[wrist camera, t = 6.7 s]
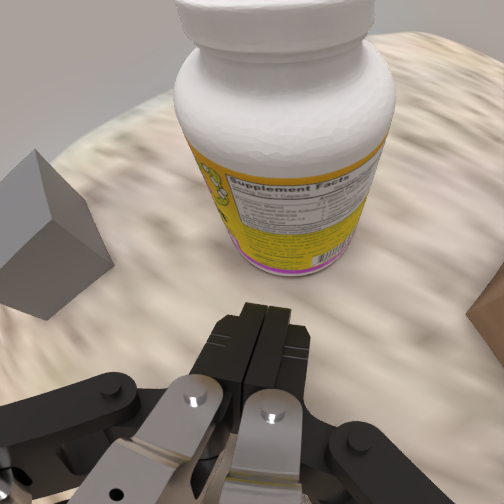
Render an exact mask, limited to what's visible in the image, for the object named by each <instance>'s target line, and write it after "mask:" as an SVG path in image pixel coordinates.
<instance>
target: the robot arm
mask: <svg viewBox="0 0 504 504" xmlns="http://www.w3.org/2000/svg"><path fill="white" fill-rule="evenodd" d="M290 317H291V309H289V308H281V307H274V306H269V308H268V306H267V305H260V304H254V303H247V302H246V303H245V305H244V307H243V309H242V311H241V314H240V316H234V315H226V316H225V317H224V318H222V319H221V320H219V321H218V322H217V323H216V325H215V327H214V329H213V330H212V332H211V335H210V336H209V338H208V340H207V343H205V345H204V347H203V349H202V351H201V353H200V355H199V357H198V358H197V360H196V362H195V364H194V366H193V368H192V370H191V371H190V373H189V375H185V376H182V377H180V378H178V379H176V380H175V381H174V382H172V384H171V385H170V386H169V387H168V388H165V389H141V388H137V386H136V384H135V382H134V380H133V379H132V378H131V377H130V376H128V375H126V374H123V373H119V372H108V373H104V374H101V375H98V376H95V377H92V378H89V379H86V380H83V381H80V382H77V383H74V384H71V385H68V386H65V387H62V388H59V389H56V390H53V391H50V392H47V393H43V394H40V395H37V396H34V397H30V398H27V399H24V400H20V401H17V402H14V403H10V404H7V405H3V406H0V504H32V500H34V499H38V498H42V497H46V496H49V495H53V494H56V493H60V492H63V491H66V490H70V489H73V488H76V487H79V486H80V487H79V488H78V489H77V491H76V492H75V493H74V495H73V496H72V497H71V499H68V500H64V501H61V502H58V503H55V504H201V502H202V500H203V498H204V496H205V494H206V492H207V489H208V487H209V485H210V483H211V481H212V479H213V477H214V475H215V473H216V470H217V468H218V466H219V464H220V462H221V460H222V457H223V455H224V452H225V446H226V444H227V441H228V438H229V435H230V433H235V434H238V437H237V441H236V446H235V450H234V455H233V459H232V464H231V468H230V471H229V474H227V476H226V478H225V481H224V485H223V489H222V493H221V497H220V501H219V504H301V501H302V493H304V494H306V495H308V498H309V499H310V501H311V502H312V504H455V503H454V502H453V501H452V500H451V499H449V498H448V497H447V496H446V495H445V494H444V493H443V492H442V491H441V490H440V489H439V488H438V487H437V486H436V485H435V484H434V483H433V482H432V481H431V480H430V479H429V478H428V477H427V476H426V475H425V474H424V473H423V472H421V471H420V470H419V469H418V468H417V467H416V466H415V465H414V464H413V463H412V462H411V461H410V460H409V459H408V458H407V457H406V456H405V455H404V454H403V453H402V452H401V451H400V450H399V449H398V448H397V447H396V446H395V445H394V444H393V443H392V442H391V441H390V440H389V439H388V438H387V437H386V436H385V435H384V434H383V433H382V432H381V431H380V430H379V429H378V428H377V427H375V426H373V425H371V424H369V423H366V422H360V421H353V422H347V423H344V424H342V425H340V426H339V427H335V426H332V425H330V424H327V423H325V422H322V421H320V420H318V419H317V418H315V417H314V416H313V415H311V414H310V412H309V411H308V410H307V408H306V407H305V404H304V400H303V395H304V387H305V380H306V372H307V364H308V355H309V346H310V335H309V333H308V331H307V329H306V327H305V326H300V325H292V324H290Z"/></svg>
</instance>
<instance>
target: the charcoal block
mask: <svg viewBox="0 0 504 504" xmlns="http://www.w3.org/2000/svg"><path fill="white" fill-rule="evenodd" d="M113 266H114V264H113V262H112V260H111V257H110V255H109V253H108V251H107V249H106V247H105V245H104V243H103V240H102V238H101V236H100V234H99V232H98V229H97V227H96V225H95V223H94V220H93V218H92V216H91V213H90V211H89V209H88V206H87V204H86V201H85V200H84V199H83V198H82V197H81V196H80V195H79V194H78V193H77V192H76V191H75V190H74V189H73V188H72V187H71V186H70V185H69V184H68V183H67V182H66V181H65V180H64V179H63V178H62V177H61V176H60V175H59V174H58V173H57V172H56V170H55V169H54V168H53V167H52V166H51V165H50V164H49V163H48V162H47V161H46V160H45V159H44V158H43V157H42V156H41V155H40V154H39V153H38V152H37V151H36V150H35V149H34V151H32V152H31V153H30V154H29V155H28V156H27V157H26V158H24V160H22V161H21V162H20V163H19V164H18V165H17V166H16V167H15V168H14V169H13V170H12V171H11V172H10V173H9V174H8V175H7V176H6V177H5V178H4V179H3V180H2V181H1V182H0V303H1V304H3V305H6V306H8V307H11V308H13V309H16V310H19V311H21V312H24V313H27V314H30V315H32V316H35V317H38V318H41V319H44V320H48V319H50V318H51V317H52V316H53V315H54V314H55V313H57V312H58V311H59V310H60V309H61V308H63V307H64V306H65V305H66V304H67V303H69V302H70V301H71V300H72V299H73V298H75V297H76V296H77V295H78V294H79V293H81V292H82V291H83V290H84V289H86V288H87V287H88V286H89V285H91V284H92V283H93V282H94V281H96V280H97V279H98V278H99V277H101V276H102V275H103V274H104V273H106V272H107V271H108V270H109V269H111V268H112V267H113Z"/></svg>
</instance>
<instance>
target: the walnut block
mask: <svg viewBox="0 0 504 504" xmlns="http://www.w3.org/2000/svg"><path fill="white" fill-rule="evenodd" d="M466 315H467V317H468V318H469V319H470V321H471V322H472V323H473V325H474V326H475V327H476V329H477V330H478V331H479V333H480V334H481V336H482V337H483V338H484V340H485V341H486V343H487V344H488V345H489V347H490V348H491V350H492V351H493V353H494V354H495V356H496V357H497V358H498V360H499V361H500V363H501V364H502V366H503V367H504V263H503V265H502V266H501V267H500V269H499V270H498V272H497V273H496V275H495V276H494V277H493V279H492V280H491V282H490V283H489V284H488V286H487V287H486V288H485V290H484V291H483V292H482V294H481V295H480V296H479V298H478V299H477V300H476V301H475V303H474V304H473V305H472V307H471V308H470V309H469V310H468V312H467V313H466Z"/></svg>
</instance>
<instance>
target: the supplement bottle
mask: <svg viewBox="0 0 504 504" xmlns="http://www.w3.org/2000/svg"><path fill="white" fill-rule="evenodd" d="M175 3H176V6H177V10H178V13H179V16H180V19H181V23H182V28H183V31H184V33H185V34H186V35H187V37H188V38H189V39H191V40H192V41H193V42H194V44H195V45H196V46H197V48H195V49H194V50H193V52H192V53H191V54H190V55H189V56H188V58H187V59H186V60H185V62H184V64H183V65H182V67H181V69H180V71H179V73H178V76H177V79H176V82H175V88H174V107H175V112H176V115H177V119H178V121H179V123H180V126H181V128H182V131H183V133H184V136H185V138H186V140H187V142H188V144H189V146H190V149H191V151H192V153H193V155H194V157H195V160H196V162H197V164H198V166H199V169H200V171H201V173H202V175H203V177H204V179H205V182H206V184H207V186H208V189H209V191H210V193H211V195H212V198H213V200H214V202H215V204H216V206H217V209H218V211H219V213H220V215H221V218H222V220H223V222H224V224H225V226H226V228H227V230H228V233H229V235H230V237H231V239H232V241H233V242H234V244H235V246H236V248H237V249H238V250H239V252H240V253H241V254H242V255H243V256H244V257H245V258H246V259H247V260H248V261H249V262H250V263H252V264H253V265H254V266H256V267H258V268H260V269H262V270H264V271H266V272H269V273H272V274H275V275H280V276H301V275H307V274H311V273H314V272H317V271H320V270H322V269H324V268H326V267H327V266H329V265H330V264H332V263H333V262H334V261H335V260H337V259H338V258H339V257H340V256H341V254H342V253H343V252H344V251H345V249H346V248H347V246H348V245H349V243H350V241H351V239H352V237H353V234H354V232H355V229H356V227H357V224H358V221H359V218H360V216H361V213H362V210H363V207H364V204H365V202H366V199H367V196H368V193H369V190H370V187H371V184H372V181H373V178H374V175H375V172H376V169H377V165H378V162H379V159H380V156H381V153H382V150H383V147H384V144H385V141H386V138H387V135H388V132H389V128H390V125H391V121H392V117H393V114H394V109H395V101H396V91H395V84H394V80H393V77H392V73H391V71H390V69H389V67H388V65H387V63H386V61H385V60H384V58H383V57H382V56H381V54H380V53H379V52H378V51H377V50H376V49H375V48H374V46H373V45H371V44H370V43H369V42H368V41H367V40H365V37H366V36H367V34H368V31H369V30H370V29H371V27H372V25H373V24H374V10H375V0H175Z"/></svg>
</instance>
